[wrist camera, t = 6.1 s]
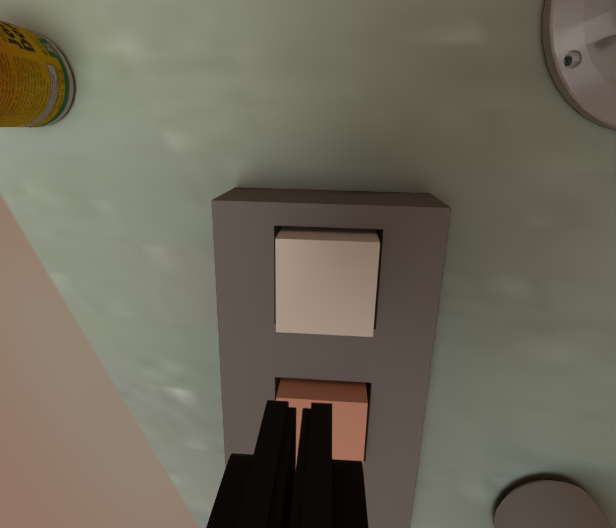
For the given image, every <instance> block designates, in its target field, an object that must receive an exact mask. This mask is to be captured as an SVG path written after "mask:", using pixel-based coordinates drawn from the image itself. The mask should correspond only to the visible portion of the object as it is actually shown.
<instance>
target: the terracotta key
mask: <svg viewBox="0 0 616 528" xmlns="http://www.w3.org/2000/svg"><path fill="white" fill-rule="evenodd" d="M276 401H288V402H289V407H296V464H297V455H298V446H299V437H300V428H301V419H302V410H303V408H311V402H314V403H332V459H337V460H353V461H362V464H363V460H364V447H365V434H366V421H367V407H368V400H367V391H366V382H351V381H333V380H316V379H299V378H282V377H281V379H280V384H279V388H278V392H277V396H276Z"/></svg>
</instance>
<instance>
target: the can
mask: <svg viewBox="0 0 616 528" xmlns="http://www.w3.org/2000/svg"><path fill="white" fill-rule="evenodd" d="M494 526H495V528H612V526H611V525H610V523H609V522H608V521H607V519H606V518H605V516H604V515H603V513H602V512H601V510H600V509H599V508H598V506H597V505H596V503H595V502H594V500H593V499H592V497H591V496H590V495H589V494H588V493H586V492H585V491H584V490H582V489H581V488H579V487H577V486H575V485H572V484H569V483H566V482H559V481H554V480H535V481H529V482H526V483H524V484H522V485H519V486H517V487H516V488H514V489H513V490H512V491H511V492H509V493H508V494H507V496H506V497H505V498H504V499H503V500H502V502H501V503H500V505H499V506H498V508H497V509H496V513H495V517H494Z"/></svg>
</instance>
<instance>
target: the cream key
mask: <svg viewBox="0 0 616 528" xmlns="http://www.w3.org/2000/svg"><path fill="white" fill-rule="evenodd" d="M275 250H276V332H284V333H304V334H323V335H343V336H362V337H373V329H374V316H375V302H376V289H377V276H378V263H379V250H380V241H379V238H378V236H377V233H376V230H375V229H357V228H328V227H300V226H283V227H282V228H281V230H280V232H279V233H278V235H277V237H276V239H275Z"/></svg>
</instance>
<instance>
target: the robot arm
mask: <svg viewBox="0 0 616 528" xmlns="http://www.w3.org/2000/svg"><path fill="white" fill-rule="evenodd" d="M542 28H543V47H544V52H545V57H546V62H547V66H548V68H549V71H550V73H551V76H552V78H553V80H554V83H555V85H556V87H557V88H558V89H559V91H560V92H561V94H562V95H563V96H564V98H565V99H566V101H567V102H568V103H569V104H570V105H571V106H572V107H573V108H575V109H576V110H577V111H578V112H579V113H580V114H581V115H582V116H584V117H586V118H587V119H589V120H591V121H593V122H595V123H597V124H599V125H600V126H603V127H606V128H610V129H614V130H616V0H545V5H544V11H543V17H542ZM564 58H567V59H568V64H567V66H565V65H564ZM206 528H368V517H367V506H366V495H365V484H364V473H363V464H362V461H353V460H337V459H332V403H314V402H311V408H303V410H302V419H301V428H300V437H299V446H298V455H297V464H296V407H289V402H288V401H276V400H267V403H266V406H265V410H264V414H263V418H262V422H261V426H260V430H259V434H258V438H257V442H256V446H255V450H254V454H236V453H232V454H231V455H230V457H229V460H228V463H227V466H226V469H225V472H224V475H223V478H222V481H221V484H220V487H219V490H218V493H217V497H216V500H215V503H214V506H213V509H212V512H211V515H210V518H209V521H208V524H207V527H206Z"/></svg>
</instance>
